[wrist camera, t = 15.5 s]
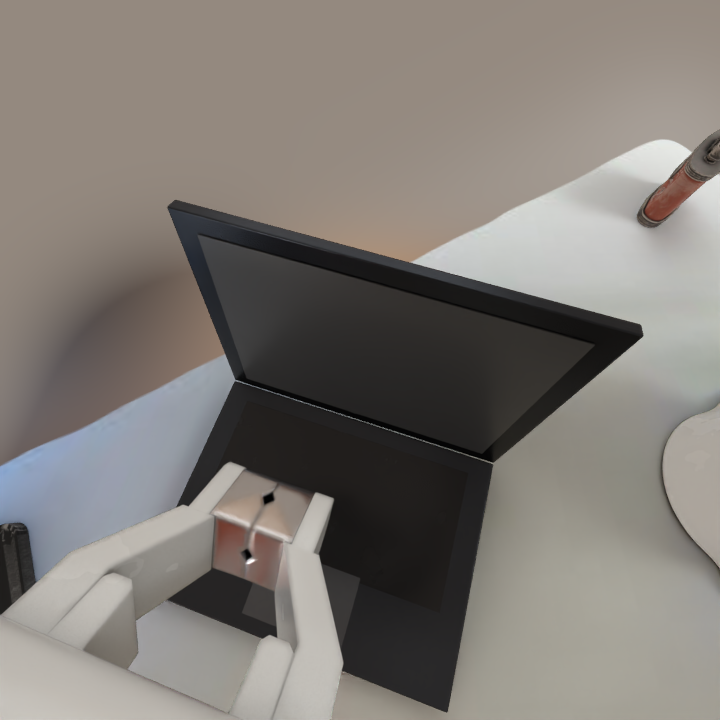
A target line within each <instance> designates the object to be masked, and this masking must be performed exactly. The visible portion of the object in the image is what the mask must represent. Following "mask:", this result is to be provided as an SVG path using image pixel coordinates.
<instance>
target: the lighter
mask: <svg viewBox="0 0 720 720" xmlns="http://www.w3.org/2000/svg"><path fill="white" fill-rule="evenodd" d="M719 172H720V130H717V131H716V132H714V133H713V134H711V135H710V136H708V137H707V138H706V139H705V140H704V141H703V142H702V143H701V144H700V145H699V146H698V147H697V148H696V149H695V150H694V152H693V153H692V154H691V155H690V156H689V157H687V158H686V159H685V160H684V161H683V162H682V163H681V164H680V165H679V166H678V167H677V168H676V169H675V170H674V172H673V173H672V175H671V176H670V178H669V179H668V180H667V181H666V182H665V183H664V184H662V185H661V186H659V187H658V188H657V189H656V190H655V191H654V192H653V193H652V194H651V195H650V196H649V197H648V198H647V199H646V200H645V202H644V203H643V205H642V206H641V208H640V210H639V212H638V214H637V219H638V221H639V222H640V223H641V224H643V225H644V226H646V227H650V228H654V227H657V226H658V225H660V224H661V223H662V222H664V221H665V220H666V219H667V218H669V217H670V216H671V215H672V214H673V213H674V212H675V211H676V210H677V209H678V208H679V206H680V205H681V204H682V203H683V202H684V201H685V200H686V199H687V198H688V197H689V196H691V195H692V194H693V193H694V192H695V191H696V190H697V189H698V188H700V187H701V186H702V185H703V184H704V183H705V182H706V181H708V180H710V179H711V178H713V177H714V176H716V175H717V174H718V173H719Z"/></svg>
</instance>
